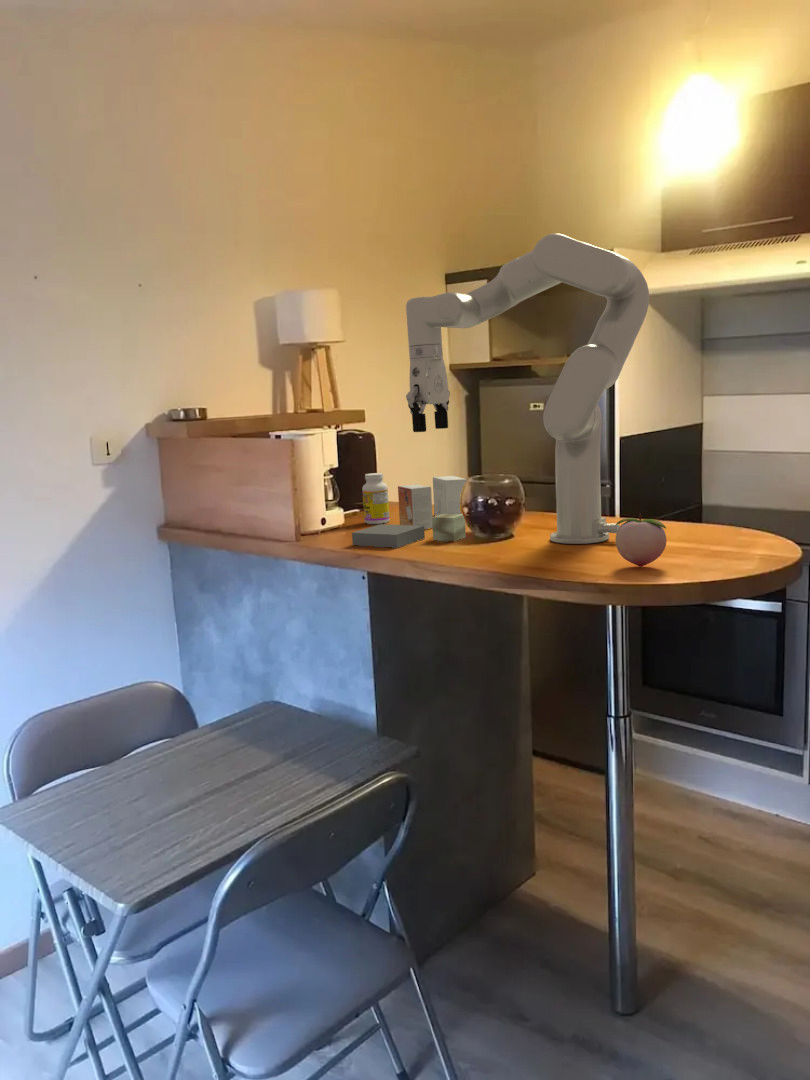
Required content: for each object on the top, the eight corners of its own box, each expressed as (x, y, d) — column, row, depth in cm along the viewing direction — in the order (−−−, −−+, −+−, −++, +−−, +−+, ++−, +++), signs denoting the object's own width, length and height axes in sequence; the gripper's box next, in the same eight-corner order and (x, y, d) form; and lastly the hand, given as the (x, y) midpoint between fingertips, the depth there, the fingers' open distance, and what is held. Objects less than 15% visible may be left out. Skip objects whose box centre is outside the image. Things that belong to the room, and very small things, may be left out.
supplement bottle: (362, 522, 243) (359, 473, 240) (386, 519, 244) (383, 471, 242) (367, 525, 236) (364, 476, 234) (392, 523, 238) (389, 474, 235)
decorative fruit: (610, 571, 167) (609, 517, 165) (619, 562, 174) (618, 510, 172) (663, 573, 163) (663, 517, 161) (670, 563, 170) (669, 510, 169)
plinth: (424, 538, 212) (424, 525, 211) (397, 548, 202) (396, 534, 201) (381, 536, 218) (380, 524, 218) (352, 545, 208) (351, 532, 208)
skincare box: (469, 518, 239) (467, 478, 237) (445, 520, 237) (443, 480, 235) (456, 513, 249) (454, 474, 247) (433, 515, 247) (431, 476, 245)
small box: (399, 527, 231) (397, 485, 229) (419, 524, 233) (417, 483, 231) (413, 531, 223) (410, 488, 222) (433, 528, 226) (431, 486, 224)
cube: (465, 537, 211) (464, 514, 210) (454, 542, 206) (453, 517, 205) (444, 536, 213) (443, 513, 213) (433, 541, 209) (432, 517, 208)
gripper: (419, 352, 197) (425, 432, 200) (459, 352, 211) (463, 426, 214) (390, 355, 201) (396, 433, 204) (431, 354, 215) (436, 427, 218)
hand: (431, 430), depth 209 cm, fingers open, 9 cm apart
